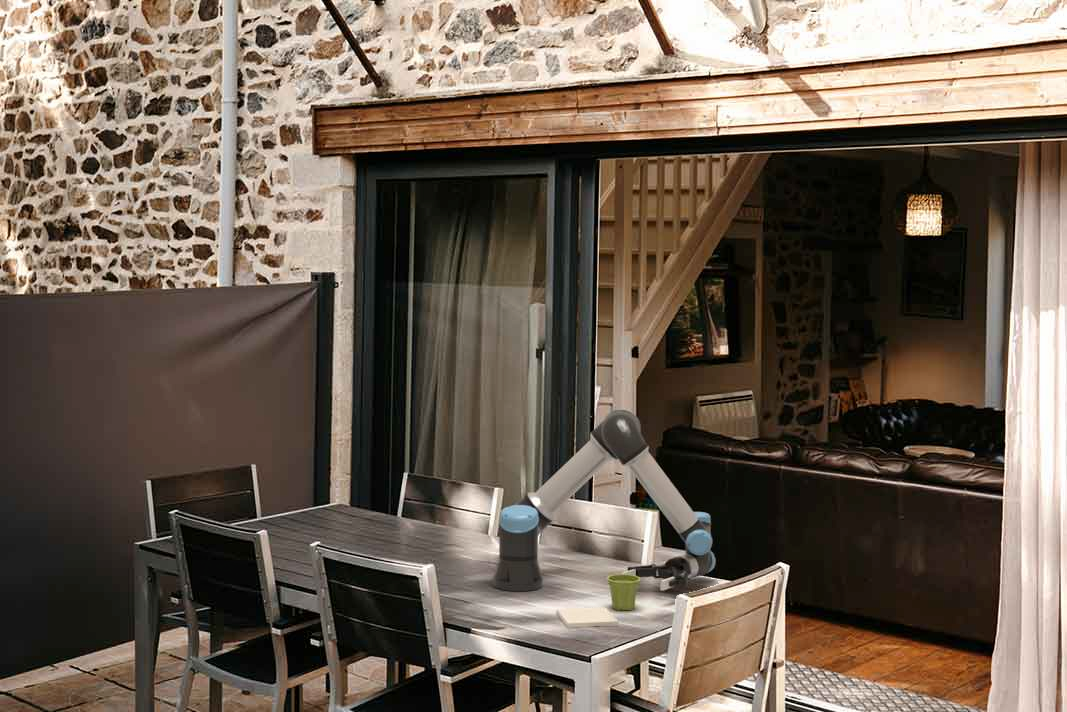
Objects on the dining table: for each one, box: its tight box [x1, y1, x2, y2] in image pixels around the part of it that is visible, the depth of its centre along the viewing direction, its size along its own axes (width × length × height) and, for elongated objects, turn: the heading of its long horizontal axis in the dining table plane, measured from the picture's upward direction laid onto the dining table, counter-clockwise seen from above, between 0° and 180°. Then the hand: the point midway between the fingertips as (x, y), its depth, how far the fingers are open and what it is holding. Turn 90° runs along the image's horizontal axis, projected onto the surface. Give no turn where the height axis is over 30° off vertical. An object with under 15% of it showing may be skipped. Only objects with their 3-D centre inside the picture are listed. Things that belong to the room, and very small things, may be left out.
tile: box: [556, 607, 619, 629], centre depth 341 cm, size 14×14×1 cm
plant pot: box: [606, 573, 641, 611], centre depth 353 cm, size 9×9×9 cm
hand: (641, 581), depth 360 cm, fingers open, 13 cm apart
